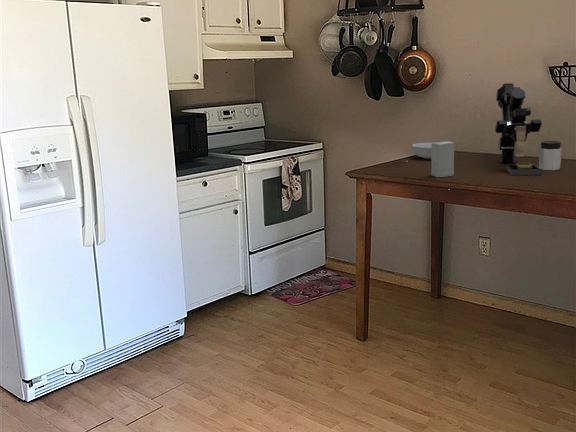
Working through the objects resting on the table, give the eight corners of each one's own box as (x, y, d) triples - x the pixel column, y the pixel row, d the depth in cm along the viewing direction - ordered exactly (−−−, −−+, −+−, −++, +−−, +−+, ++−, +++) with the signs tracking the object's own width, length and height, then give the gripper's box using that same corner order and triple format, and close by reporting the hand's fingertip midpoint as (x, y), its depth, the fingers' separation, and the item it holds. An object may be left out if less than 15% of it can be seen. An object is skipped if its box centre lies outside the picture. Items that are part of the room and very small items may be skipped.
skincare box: (446, 173, 284) (447, 140, 280) (454, 176, 278) (455, 142, 275) (430, 175, 281) (430, 142, 278) (438, 178, 276) (438, 143, 272)
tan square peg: (514, 155, 281) (515, 125, 278) (522, 155, 281) (523, 125, 278) (516, 156, 278) (517, 126, 275) (524, 156, 278) (525, 126, 275)
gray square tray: (506, 170, 286) (507, 161, 285) (534, 170, 284) (535, 161, 283) (511, 175, 274) (512, 166, 273) (541, 175, 272) (541, 166, 271)
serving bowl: (457, 160, 318) (458, 146, 316) (415, 162, 318) (415, 148, 317) (448, 154, 338) (448, 141, 336) (408, 155, 338) (408, 142, 337)
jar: (551, 171, 281) (552, 144, 278) (535, 168, 288) (536, 142, 285) (563, 168, 286) (565, 141, 283) (547, 166, 292) (549, 140, 289)
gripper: (497, 102, 279) (501, 130, 271) (541, 100, 277) (547, 128, 269) (493, 118, 288) (497, 146, 280) (535, 117, 286) (541, 145, 278)
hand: (520, 141), depth 277 cm, fingers closed on tan square peg, 3 cm apart
